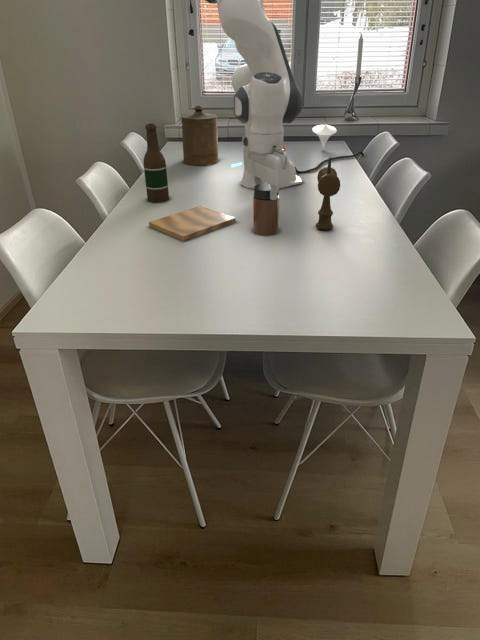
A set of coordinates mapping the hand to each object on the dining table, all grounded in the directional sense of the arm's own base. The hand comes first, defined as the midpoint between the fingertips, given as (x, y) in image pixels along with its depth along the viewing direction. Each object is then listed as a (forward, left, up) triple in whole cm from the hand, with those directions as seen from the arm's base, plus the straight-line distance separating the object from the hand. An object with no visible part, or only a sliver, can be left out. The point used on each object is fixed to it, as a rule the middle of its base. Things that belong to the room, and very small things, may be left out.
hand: (265, 195), depth 135 cm
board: (+17, -14, -10) cm, 24 cm away
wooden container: (-13, -84, -11) cm, 86 cm away
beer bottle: (+19, -42, -11) cm, 47 cm away
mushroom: (-69, -75, -11) cm, 103 cm away
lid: (0, 0, +2) cm, 2 cm away
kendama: (-16, +6, -11) cm, 20 cm away
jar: (0, 0, -10) cm, 10 cm away
